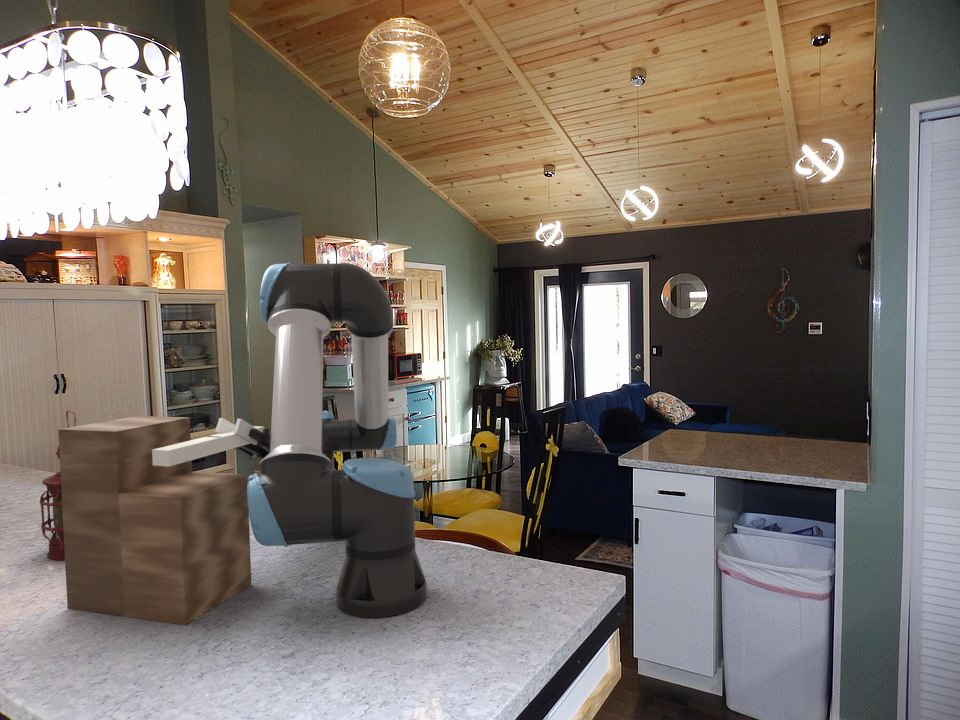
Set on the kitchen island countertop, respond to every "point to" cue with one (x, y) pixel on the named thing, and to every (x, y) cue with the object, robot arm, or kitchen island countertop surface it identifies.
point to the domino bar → (197, 448)
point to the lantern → (54, 510)
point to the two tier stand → (148, 524)
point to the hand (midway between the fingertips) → (228, 425)
